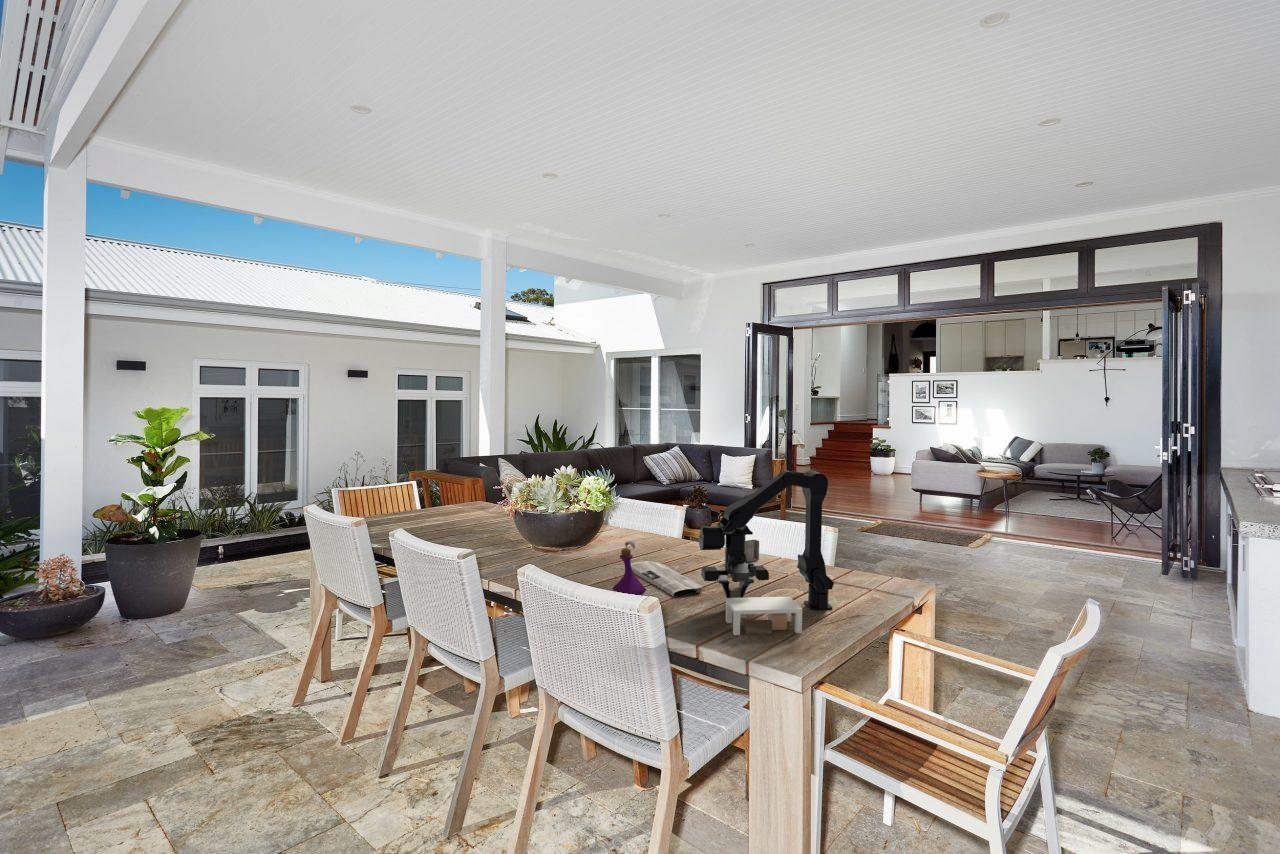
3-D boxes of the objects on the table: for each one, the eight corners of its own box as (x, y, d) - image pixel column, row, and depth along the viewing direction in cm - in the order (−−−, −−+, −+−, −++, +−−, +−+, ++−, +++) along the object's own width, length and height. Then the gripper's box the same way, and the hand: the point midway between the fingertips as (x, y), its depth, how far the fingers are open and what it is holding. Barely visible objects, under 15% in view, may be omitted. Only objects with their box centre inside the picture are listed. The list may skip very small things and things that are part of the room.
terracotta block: (767, 624, 176) (768, 610, 175) (782, 624, 176) (782, 609, 176) (772, 630, 172) (772, 615, 171) (786, 629, 172) (787, 615, 172)
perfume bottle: (611, 598, 196) (612, 540, 194) (631, 593, 200) (631, 536, 199) (627, 605, 190) (627, 545, 189) (646, 600, 195) (647, 541, 194)
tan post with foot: (727, 607, 189) (728, 587, 188) (752, 606, 189) (753, 586, 189) (744, 634, 169) (744, 611, 168) (772, 633, 169) (772, 611, 169)
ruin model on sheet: (734, 565, 235) (734, 538, 234) (729, 563, 238) (730, 537, 237) (759, 561, 240) (760, 535, 240) (754, 559, 243) (755, 534, 242)
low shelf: (725, 621, 178) (725, 598, 177) (789, 619, 179) (789, 596, 179) (734, 635, 168) (734, 610, 167) (801, 633, 169) (802, 608, 169)
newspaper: (626, 569, 228) (626, 560, 228) (657, 565, 234) (657, 556, 233) (675, 600, 197) (675, 588, 196) (709, 594, 202) (710, 583, 202)
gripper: (708, 557, 177) (707, 613, 178) (775, 556, 179) (774, 611, 180) (701, 547, 188) (700, 599, 189) (763, 546, 190) (762, 598, 191)
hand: (734, 602), depth 187 cm, fingers closed on tan post with foot, 3 cm apart
